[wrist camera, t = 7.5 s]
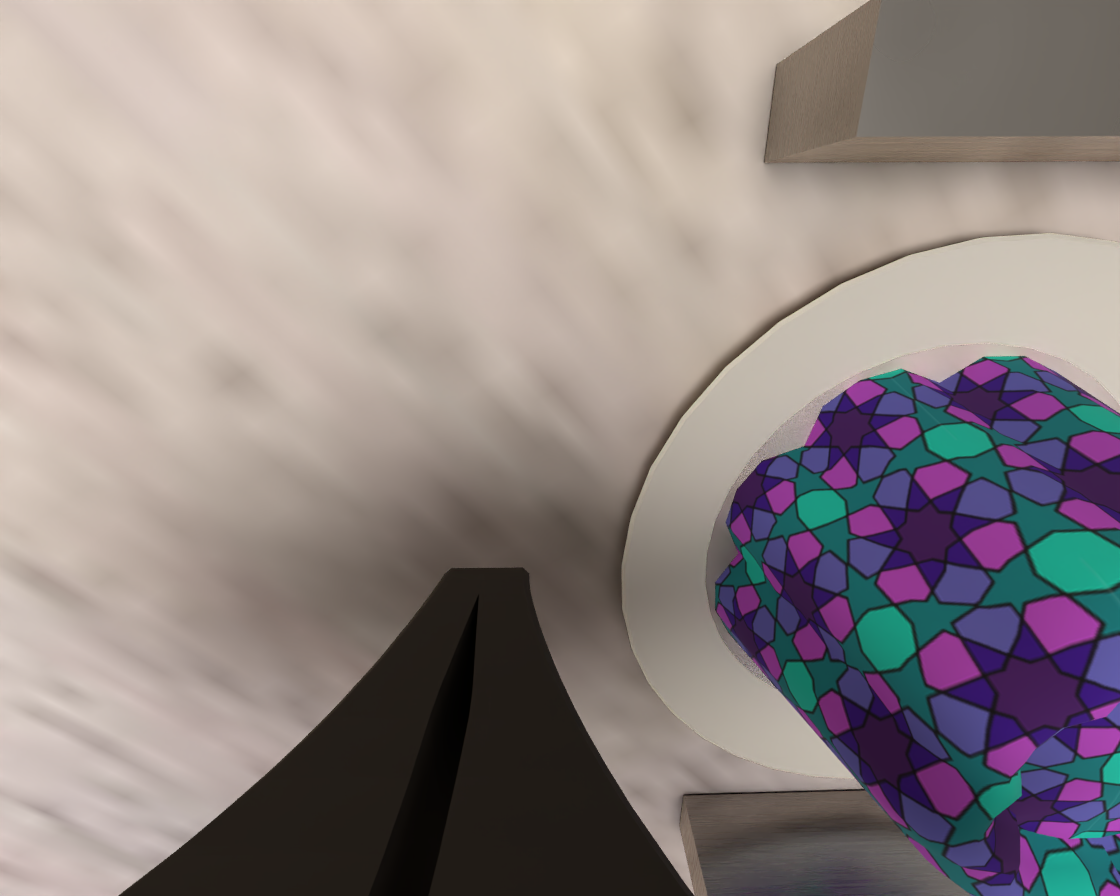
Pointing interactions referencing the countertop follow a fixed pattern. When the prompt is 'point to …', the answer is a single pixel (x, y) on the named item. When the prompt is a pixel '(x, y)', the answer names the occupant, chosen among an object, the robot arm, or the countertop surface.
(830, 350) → the pudding
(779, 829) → the grey u-shaped frame
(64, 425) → the countertop surface
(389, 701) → the robot arm
